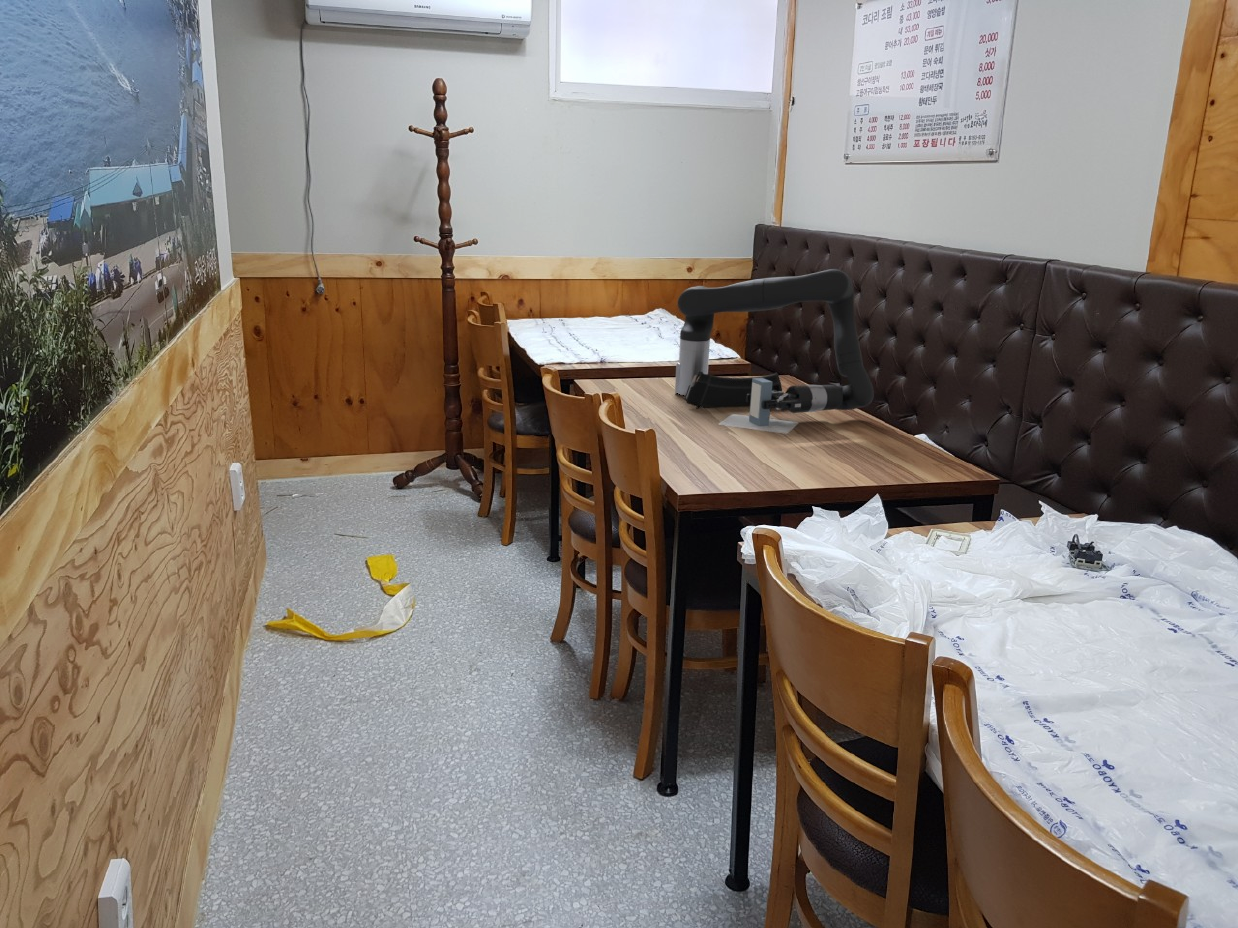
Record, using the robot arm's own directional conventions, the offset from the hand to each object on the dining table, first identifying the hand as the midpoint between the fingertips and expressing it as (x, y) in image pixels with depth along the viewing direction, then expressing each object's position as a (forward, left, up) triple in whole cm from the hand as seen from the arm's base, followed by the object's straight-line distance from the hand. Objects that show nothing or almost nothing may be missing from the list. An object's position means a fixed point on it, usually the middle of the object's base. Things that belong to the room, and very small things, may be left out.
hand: (754, 401), depth 238 cm
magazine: (-11, +19, -7) cm, 23 cm away
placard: (+1, +1, -6) cm, 6 cm away
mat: (+1, +1, -7) cm, 7 cm away
